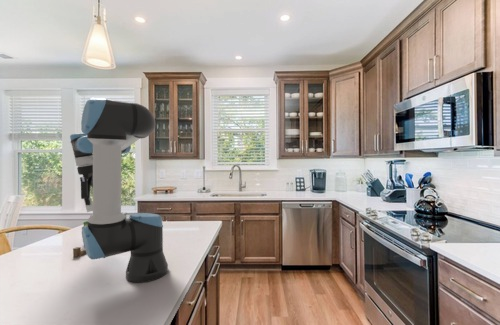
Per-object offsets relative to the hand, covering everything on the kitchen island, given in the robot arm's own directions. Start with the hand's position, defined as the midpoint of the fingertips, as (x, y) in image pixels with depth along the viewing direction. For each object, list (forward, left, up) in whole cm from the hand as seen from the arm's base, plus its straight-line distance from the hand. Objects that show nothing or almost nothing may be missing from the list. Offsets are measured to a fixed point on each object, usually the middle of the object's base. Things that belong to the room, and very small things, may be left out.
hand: (95, 207), depth 127 cm
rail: (+8, +2, -21) cm, 23 cm away
